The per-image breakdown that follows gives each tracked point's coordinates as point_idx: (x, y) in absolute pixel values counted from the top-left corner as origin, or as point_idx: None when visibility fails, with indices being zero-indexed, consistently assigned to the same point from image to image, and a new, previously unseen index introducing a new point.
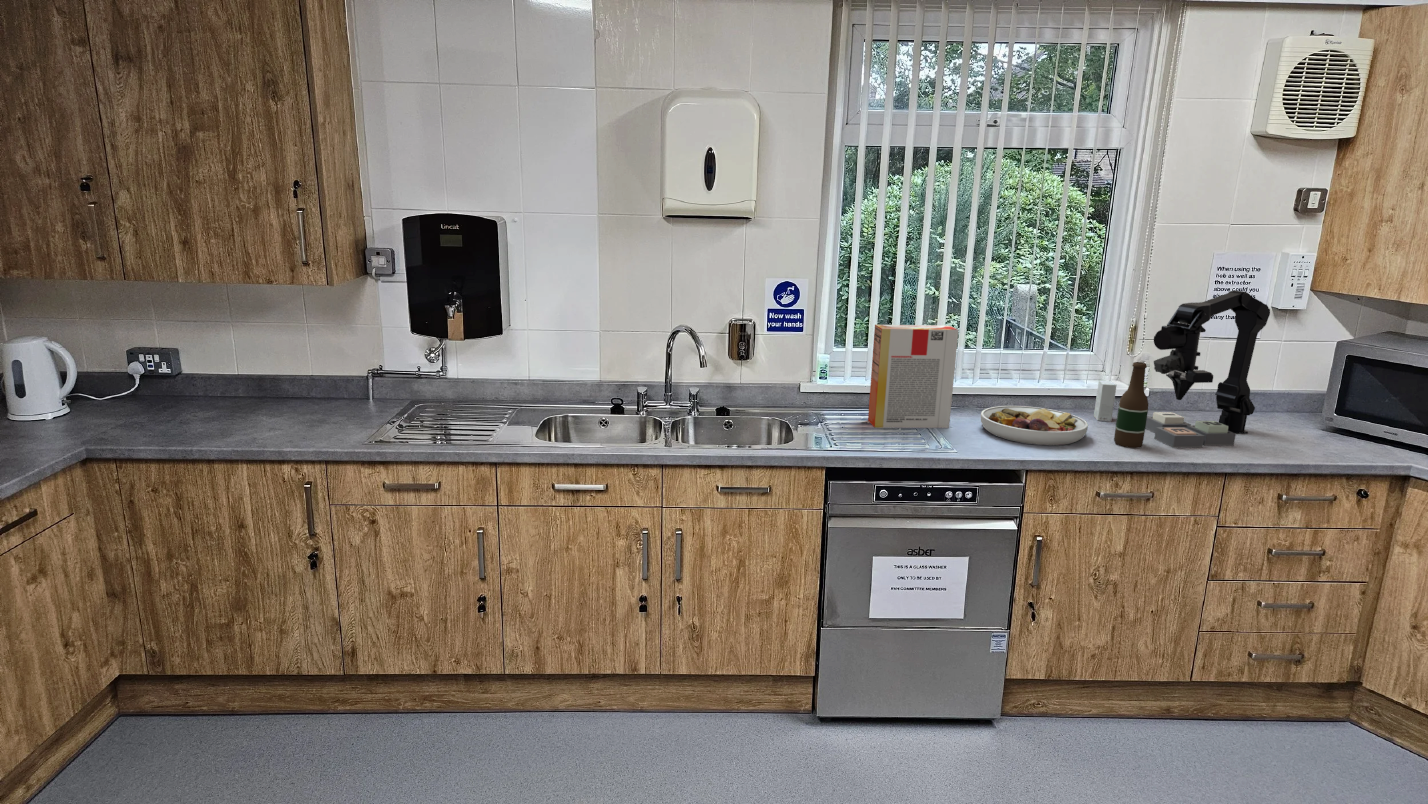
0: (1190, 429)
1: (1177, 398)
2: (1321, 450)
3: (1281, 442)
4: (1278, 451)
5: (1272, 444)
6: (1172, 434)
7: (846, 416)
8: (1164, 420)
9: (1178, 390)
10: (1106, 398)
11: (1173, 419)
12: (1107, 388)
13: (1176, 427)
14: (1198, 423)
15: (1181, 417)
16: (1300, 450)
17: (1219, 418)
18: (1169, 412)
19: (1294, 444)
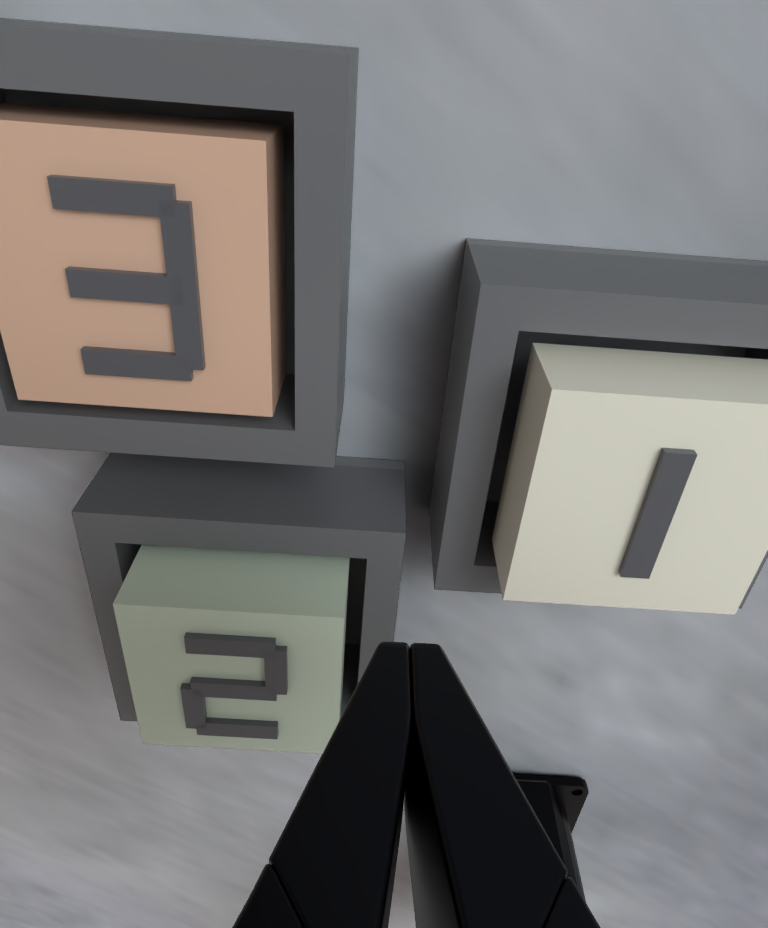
0: (337, 511)
1: (393, 656)
2: (118, 913)
3: (252, 868)
4: (56, 773)
5: (209, 821)
6: None
7: None
8: (550, 367)
9: (336, 839)
10: None
11: (521, 477)
12: None
13: (326, 366)
14: (293, 602)
15: (508, 573)
16: (101, 856)
17: (561, 849)
18: (738, 585)
19: (217, 888)
